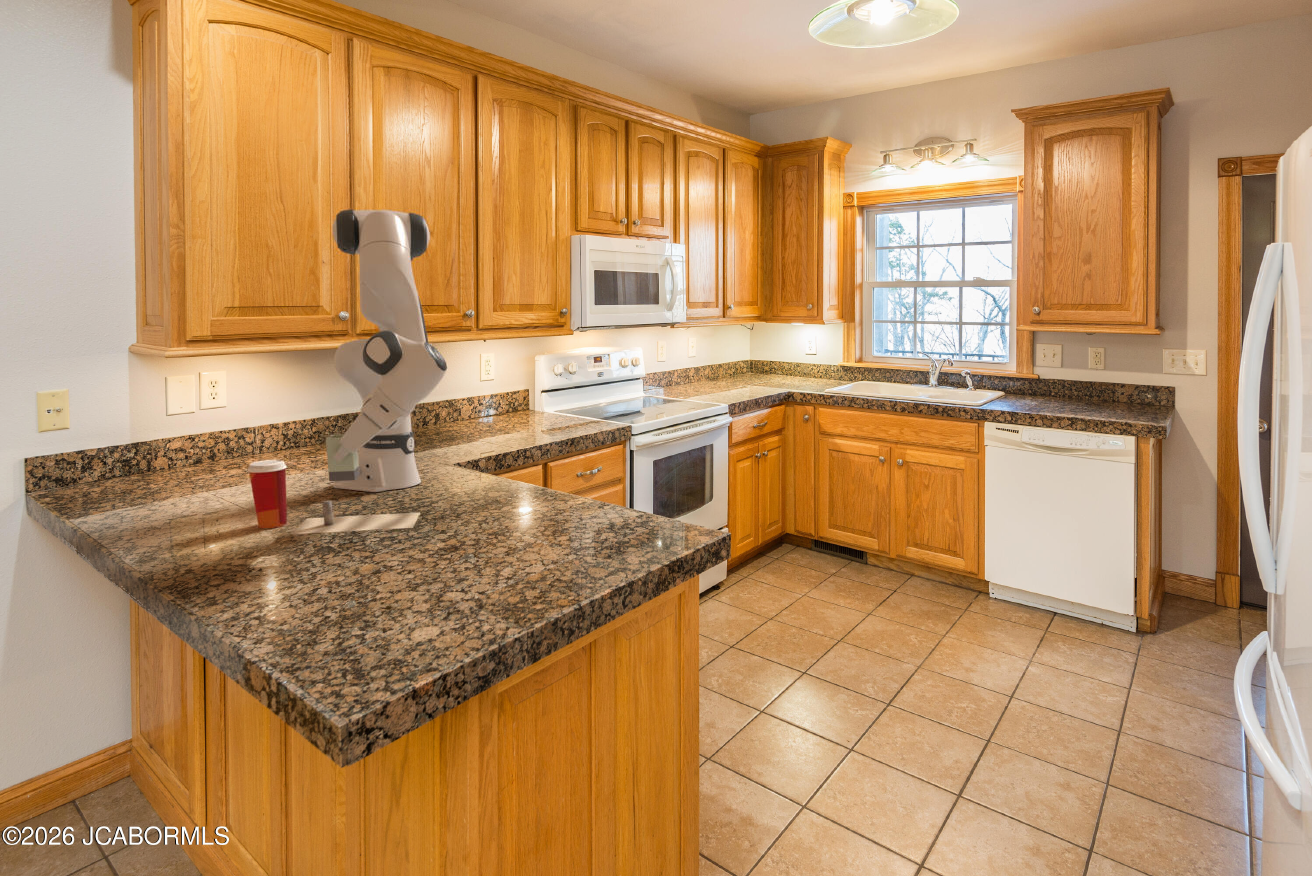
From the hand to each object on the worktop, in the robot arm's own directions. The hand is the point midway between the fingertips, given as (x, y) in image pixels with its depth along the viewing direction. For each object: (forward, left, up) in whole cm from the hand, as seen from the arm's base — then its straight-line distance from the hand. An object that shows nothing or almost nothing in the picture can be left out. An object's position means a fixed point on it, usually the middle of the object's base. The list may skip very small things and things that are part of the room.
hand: (339, 456), depth 160 cm
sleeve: (+1, 0, -5) cm, 5 cm away
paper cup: (-18, +1, -16) cm, 25 cm away
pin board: (+3, +1, -16) cm, 16 cm away
